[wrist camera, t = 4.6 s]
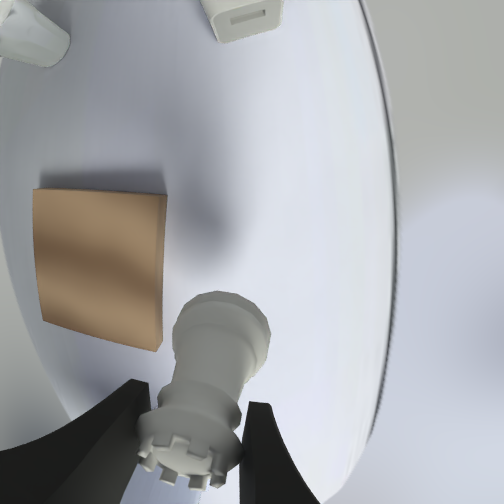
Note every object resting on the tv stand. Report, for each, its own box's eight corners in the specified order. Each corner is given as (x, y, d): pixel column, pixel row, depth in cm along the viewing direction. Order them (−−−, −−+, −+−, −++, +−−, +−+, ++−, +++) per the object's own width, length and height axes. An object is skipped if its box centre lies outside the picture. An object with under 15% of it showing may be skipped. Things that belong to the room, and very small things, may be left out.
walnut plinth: (162, 340, 19) (156, 352, 18) (53, 312, 19) (43, 320, 18) (167, 194, 17) (158, 196, 15) (45, 187, 17) (33, 189, 15)
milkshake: (25, 59, 14) (-56, 33, 4) (70, 16, 13) (-5, -31, 4) (34, 93, 15) (-60, 73, 5) (83, 47, 14) (-6, -2, 5)
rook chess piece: (291, 328, 13) (301, 476, 6) (230, 379, 14) (202, 511, 7) (216, 266, 13) (145, 389, 5) (162, 328, 14) (85, 447, 6)
